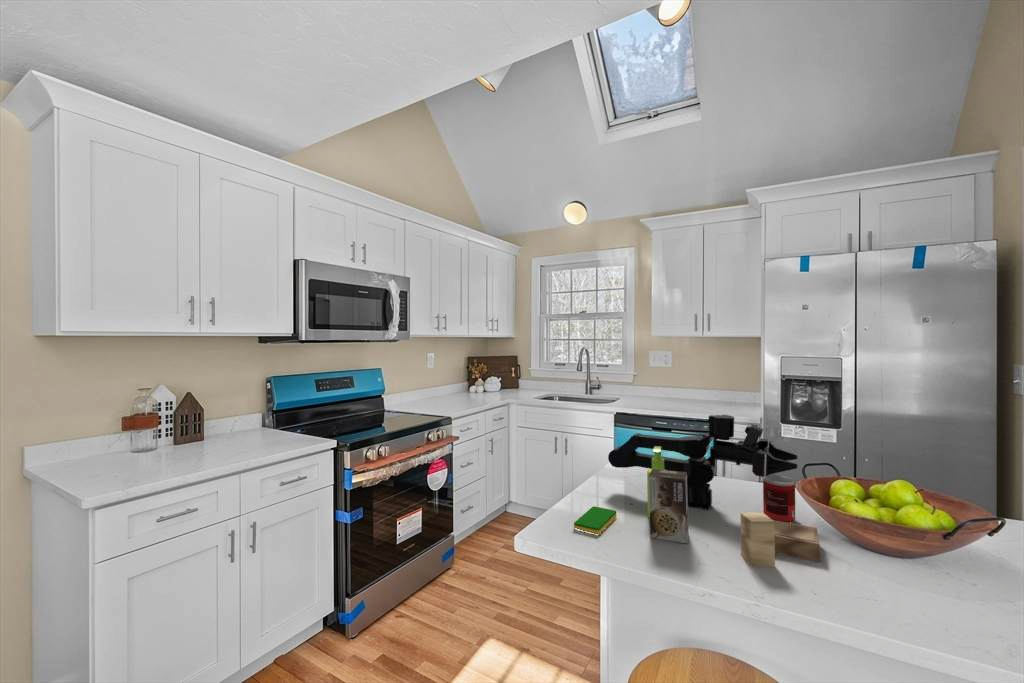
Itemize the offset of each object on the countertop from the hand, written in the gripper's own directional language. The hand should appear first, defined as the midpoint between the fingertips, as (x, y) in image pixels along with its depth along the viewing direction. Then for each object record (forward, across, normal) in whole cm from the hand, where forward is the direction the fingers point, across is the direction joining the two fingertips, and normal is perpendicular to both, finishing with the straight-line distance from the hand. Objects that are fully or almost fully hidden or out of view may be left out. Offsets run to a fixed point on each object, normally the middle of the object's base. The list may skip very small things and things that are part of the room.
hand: (797, 461), depth 121 cm
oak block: (-7, -29, +16) cm, 34 cm away
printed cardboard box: (-27, -26, +17) cm, 42 cm away
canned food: (-4, 0, +17) cm, 17 cm away
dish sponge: (-46, -29, +18) cm, 57 cm away
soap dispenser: (-32, -16, +18) cm, 40 cm away
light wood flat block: (0, -18, +16) cm, 24 cm away
